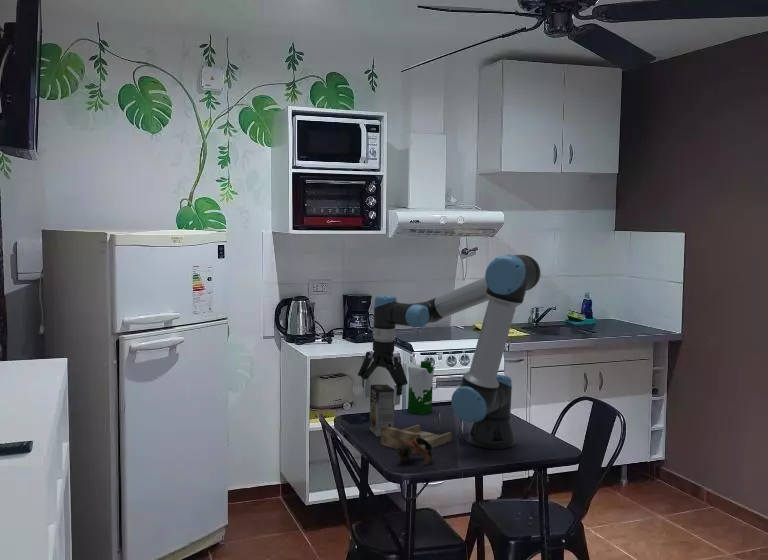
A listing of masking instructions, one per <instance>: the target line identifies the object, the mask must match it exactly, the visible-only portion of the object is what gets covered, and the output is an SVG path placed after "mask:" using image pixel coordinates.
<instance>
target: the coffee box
mask: <svg viewBox="0 0 768 560" xmlns="http://www.w3.org/2000/svg"><path fill="white" fill-rule="evenodd" d="M369 398H370V399H369V401H370V402H369V404H370V405H369V431H370V432H372V433H373V434H374V436H376V437H378V438H381V426H389V427H393V428H395V406H396V405H393V402H394V387H391V386H390V385H389V384H370V397H369Z"/></svg>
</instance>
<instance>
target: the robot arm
mask: <svg viewBox="0 0 768 560" xmlns="http://www.w3.org/2000/svg"><path fill="white" fill-rule="evenodd" d="M540 278H541V267H540V265H539V263H538V262H537V261H536V260H535V259H534V258H533V257H531V256H530V255H526V254H503V255H500V256H497V257H495V258H494V259H493V260H491V261H490V262H489V264H488V265H487V267H486V269H485V273H484V277H483V278H480V279H478V280H476V281H473V282H470V283H468V284H465V285H463V286H461V287H459V288H458V287H457V288H456V289H454V290H451V291H449V292H447V293H443V294H442V295H439V296H437V297H435V298H431V299H429V300H427V301H422V302H415V303H413V302H412V303H404V302H398V301H397V297H396V296H395V295H392V294H391V295H389V294H379V295H376V296H375V298H374V306H373V328H372V329H373V332H372V333H373V335H372V338H373V341H372V350H371V351H370V350H369V351H366V352H365V357H364V359H363V362H362V364H361V367H360V368H359V371H358V373H357V376H358V377H360V378H362V381H361V382H362V383H361V384H362V388H363V392H362V393H363V394H362V396H363V397H362V398H363V399H365V398H366V399H367V398H370V391H371V386H370V385H371V381H372V380H371V378H370V376H371V375H372V374H373V373H374V372H375V370H376V369H377V368H379V367H381V368H383V369H386V370H387V371H388V373H389V374H390V377H391V378H392V380H393V382H394V384H395V385H394V386H393V389H394V402H393V405H395V406H399V405H400V404H401V396H402V395H403V386H406V385H409V381H408V379H407V376H406V373H405V370H404V367H403V364H402V356H401V355H398V356H395V355H394V352H395V346H396V345H395V340H396V325H398V326H405V327H412V328H415V329H416V328H423V327H425V326H426V325H427V324H433V323H434V324H435V323H436V322H437V323H438V322H439V321H441V320H442V319H444V318H447V317H449V316H452V315H454V314H457V313H459V312H462V311H464V310H466V309H467V310H468V309H470V308H472V307H476V306H478V305H480V304H483V303H485V302H487V306H486V310H485V313H484V317H483V320H482V324H481V329H480V331H479V335H478V339H477V342H476V346H475V350H474V353H473V357H472V361H471V364H470V367H469V370H468V371H466V372H464V373H463V375H462V379H461V383H460V386H459V387H457V388H456V389H455V390H454V391H453V393H452V395H451V400H450V401H451V402H450V403H451V408H452V410H453V412H454V414H455V415H456V416H457V417H458V419H460V420H462V421H463V422H466V423H471V424H472V423H473V424H472V426H471V429H470V432H469V439H468V441H469V444H471V445H473V446H476V447H478V448H484V449H491V450H502V449H510V448H512V447H514V446H515V443H516V436H515V433H514V430H513V426H512V422H511V413H512V412H511V411H512V408H511V407H512V392H513V391H512V389H513V386H512V382H513V381H512V378H511V377H509V376H508V375H502V374H498V373H499V369H500V365H501V363H502V358H503V355H504V351H505V348H506V345H507V340H508V337H509V333H510V330H511V326H512V323H513V321H514V315H515V312H516V310H517V309H516V308H517V307H518V306H520V305H522V304H523V302H524V299H525V295H526V292H527V291H530V290H532V289H534V287H536V286H537V284H538V283H539V281H540ZM372 360H373V361H372Z"/></svg>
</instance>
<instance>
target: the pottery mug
mask: <svg viewBox="0 0 768 560" xmlns="http://www.w3.org/2000/svg"><path fill="white" fill-rule="evenodd" d="M416 441H417V442H416ZM420 445H425V448H426V449H424V448H422V447H421V446H420ZM412 448H414V450H415V451H416V452H418V454H420V455H421V456H423V457H424V460H423V462H422V464H423V465H424V466H427V465H428V464H429V462H431V461H432V459H433V453H434V448H433V447H432V446H431V444H430V443H429V442H427V441H426V440H424V439H422V438H420V437H415V438H414V439H413V440H410V441H408V442H407V443H406V444H405V445H401V446H400V447H399V448H398V449H396V450H397V451H396V453H397V456H398V457H399V462H401V461H402V462H408V460H409V456H410V455H411V454H412V453H411V452H412ZM426 464H427V465H426Z"/></svg>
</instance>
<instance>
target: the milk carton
mask: <svg viewBox="0 0 768 560" xmlns="http://www.w3.org/2000/svg"><path fill="white" fill-rule="evenodd" d="M435 369H436V367H435V366H432V362H431V361H429V360H421V361H420V364H419V363H416V364H414V365H409V366H407V371H408V392H407V393H408V395H407V397H408V399H407V413H410V414H416V415H420V414H421V415H420V416H424V414H425V415H427V414H429V412H430V413H432V412H433V382H434V373H435ZM426 413H427V414H426Z"/></svg>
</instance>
